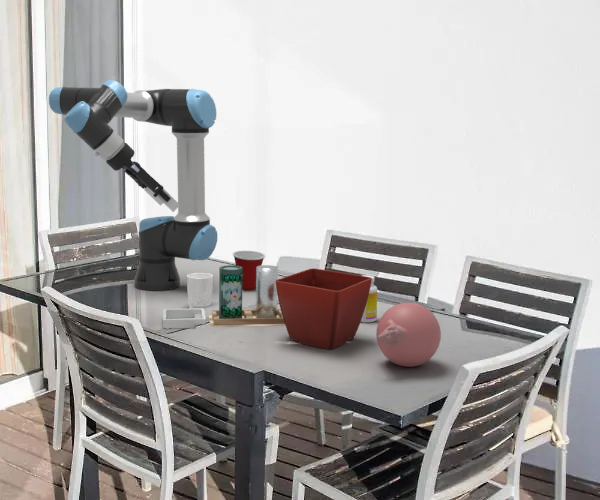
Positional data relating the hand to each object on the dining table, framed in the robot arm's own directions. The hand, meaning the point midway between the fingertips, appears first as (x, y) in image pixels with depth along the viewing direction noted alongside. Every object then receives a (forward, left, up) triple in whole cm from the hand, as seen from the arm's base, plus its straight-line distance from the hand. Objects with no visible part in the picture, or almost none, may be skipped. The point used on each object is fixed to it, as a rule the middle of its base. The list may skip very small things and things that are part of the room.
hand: (170, 205), depth 230 cm
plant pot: (+25, +40, -33) cm, 57 cm away
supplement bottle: (+6, +56, -33) cm, 65 cm away
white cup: (-11, +9, -33) cm, 36 cm away
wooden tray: (+7, +22, -33) cm, 40 cm away
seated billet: (+7, +27, -31) cm, 42 cm away
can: (+7, +17, -32) cm, 36 cm away
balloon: (+48, +55, -33) cm, 80 cm away
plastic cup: (-35, +26, -33) cm, 55 cm away
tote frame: (+5, +4, -33) cm, 33 cm away
